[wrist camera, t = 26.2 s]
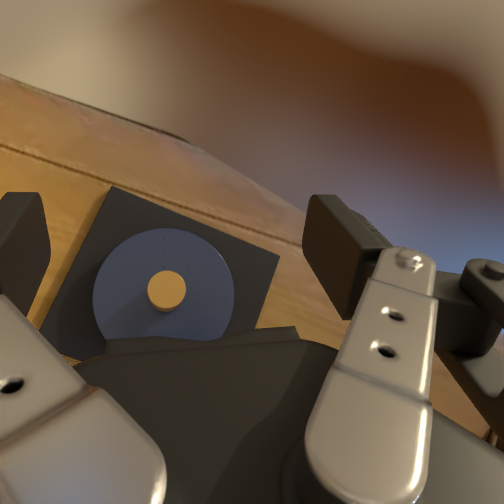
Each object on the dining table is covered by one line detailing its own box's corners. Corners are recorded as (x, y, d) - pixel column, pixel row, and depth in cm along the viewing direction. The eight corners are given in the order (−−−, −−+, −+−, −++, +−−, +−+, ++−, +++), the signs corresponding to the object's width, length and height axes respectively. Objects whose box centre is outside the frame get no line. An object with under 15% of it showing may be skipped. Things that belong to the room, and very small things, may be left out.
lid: (203, 213, 37) (210, 191, 31) (252, 332, 36) (270, 332, 30) (74, 258, 34) (55, 243, 28) (123, 390, 33) (115, 403, 27)
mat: (278, 257, 39) (280, 256, 38) (224, 410, 35) (225, 412, 34) (112, 187, 37) (111, 185, 36) (34, 343, 33) (32, 343, 32)
